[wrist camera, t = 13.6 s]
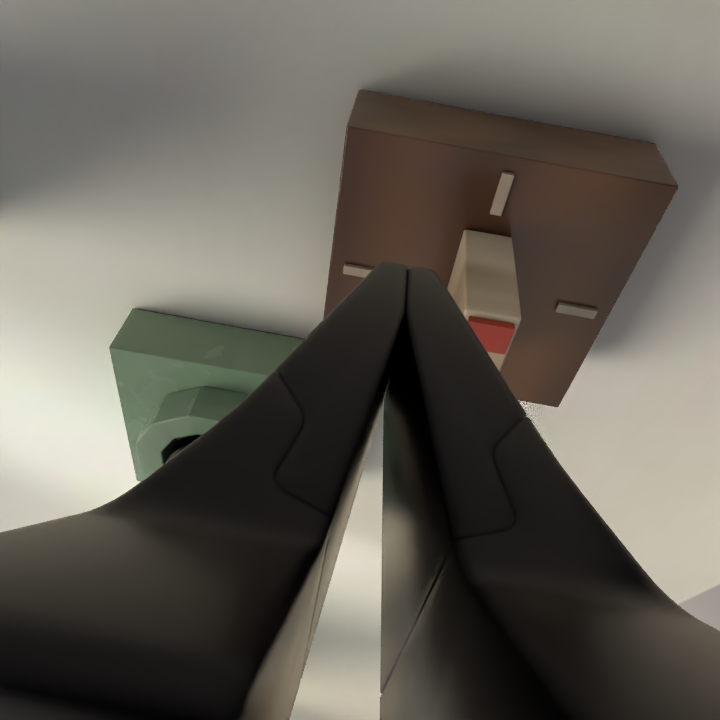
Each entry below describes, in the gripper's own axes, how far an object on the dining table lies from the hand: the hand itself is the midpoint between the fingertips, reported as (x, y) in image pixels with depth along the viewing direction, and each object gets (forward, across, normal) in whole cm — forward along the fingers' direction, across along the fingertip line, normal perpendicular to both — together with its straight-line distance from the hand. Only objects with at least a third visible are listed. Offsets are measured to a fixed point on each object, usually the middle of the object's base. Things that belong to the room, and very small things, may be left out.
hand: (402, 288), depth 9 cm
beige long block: (+10, -3, +7) cm, 13 cm away
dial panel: (+13, -3, +7) cm, 15 cm away
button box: (+13, +6, +18) cm, 23 cm away
